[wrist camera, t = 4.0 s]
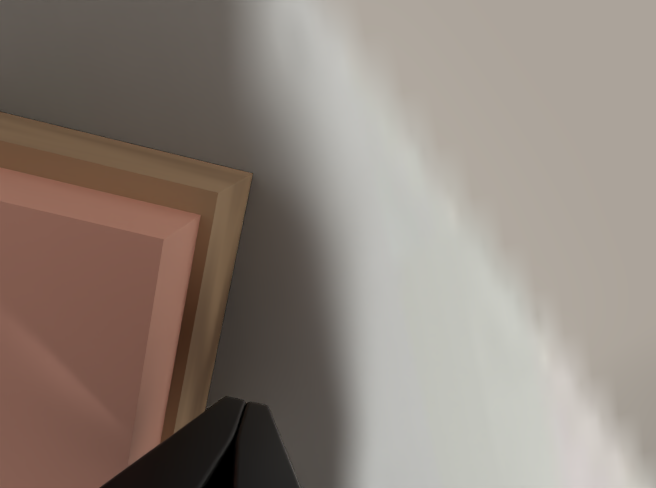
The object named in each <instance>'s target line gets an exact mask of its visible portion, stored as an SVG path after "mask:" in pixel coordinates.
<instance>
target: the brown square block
mask: <svg viewBox="0 0 656 488" xmlns="http://www.w3.org/2000/svg"><path fill="white" fill-rule="evenodd" d="M0 167H1V168H5V169H9V170H14V171H18V172H22V173H26V174H30V175H35V176H39V177H43V178H47V179H51V180H56V181H60V182H64V183H68V184H73V185H77V186H81V187H85V188H89V189H94V190H98V191H102V192H106V193H110V194H115V195H119V196H123V197H127V198H131V199H136V200H140V201H144V202H148V203H153V204H157V205H161V206H165V207H169V208H174V209H178V210H182V211H186V212H190V213H195V214H199V215H201V217H200V222H199V228H198V234H197V239H196V245H195V250H194V256H193V262H192V267H191V273H190V279H189V284H188V290H187V295H186V301H185V307H184V312H183V318H182V323H181V329H180V335H179V340H178V346H177V352H176V357H175V363H174V368H173V374H172V380H171V385H170V391H169V397H168V402H167V408H166V413H165V419H164V425H163V430H162V436H161V441H160V443H161V442H163V441H164V440H166V439H167V438H168V437H170V436H171V435H172V434H174V433H175V432H177V431H178V430H179V429H181V428H182V427H184V426H185V425H186V424H188V423H189V422H190V421H192V420H193V419H195V418H196V417H197V416H199V415H200V414H201V413H203V412H204V411H205V408H206V403H207V398H208V393H209V388H210V383H211V378H212V373H213V368H214V364H215V359H216V354H217V349H218V344H219V339H220V334H221V329H222V324H223V319H224V314H225V309H226V304H227V299H228V294H229V289H230V284H231V279H232V274H233V269H234V265H235V260H236V255H237V250H238V245H239V240H240V235H241V230H242V225H243V220H244V215H245V210H246V205H247V200H248V195H249V190H250V185H251V180H252V175H253V173H249V172H245V171H241V170H237V169H233V168H229V167H224V166H220V165H216V164H212V163H208V162H204V161H200V160H196V159H192V158H188V157H184V156H179V155H175V154H171V153H167V152H163V151H159V150H155V149H151V148H147V147H143V146H138V145H134V144H130V143H126V142H122V141H118V140H114V139H110V138H106V137H102V136H98V135H93V134H89V133H85V132H81V131H77V130H73V129H69V128H65V127H61V126H57V125H52V124H48V123H44V122H40V121H36V120H32V119H28V118H24V117H20V116H16V115H12V114H7V113H3V112H0Z"/></svg>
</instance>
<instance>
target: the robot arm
mask: <svg viewBox="0 0 656 488" xmlns="http://www.w3.org/2000/svg"><path fill="white" fill-rule="evenodd" d="M99 488H301V487H300V484H299V482H298V479H297V477H296V474H295V472H294V469H293V467H292V464H291V462H290V459H289V457H288V454H287V452H286V449H285V447H284V444H283V442H282V439H281V437H280V434H279V432H278V429H277V427H276V424H275V422H274V419H273V416H272V414H271V411H270V409H269V407H268V406H267V405H264V404H260V403H255V402H248V403H247V404H246V402H245V401H244V400H242V399H237V398H233V397H229V396H226V397H224V398H222V399H221V400H219V401H218V402H217V403H215V404H214V405H213V406H211V407H210V408H208V409H207V410H206V411H204V412H203V413H201V414H200V415H199V416H197V417H196V418H195V419H193V420H192V421H190V422H189V423H188V424H186V425H185V426H184V427H182V428H181V429H179V430H178V431H177V432H175V433H174V434H172V435H171V436H170V437H168V438H167V439H166V440H164V441H163V442H161V443H160V444H159V445H157V446H156V447H155V448H153V449H152V450H150V451H149V452H148V453H146V454H145V455H143V456H142V457H141V458H139V459H138V460H137V461H135V462H134V463H132V464H131V465H130V466H128V467H127V468H125V469H124V470H123V471H121V472H120V473H119V474H117V475H116V476H114V477H113V478H112V479H110V480H109V481H108V482H106V483H105V484H103V485H102V486H101V487H99Z"/></svg>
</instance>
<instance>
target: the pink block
mask: <svg viewBox="0 0 656 488" xmlns="http://www.w3.org/2000/svg"><path fill="white" fill-rule="evenodd" d="M200 217H201V215H199V214H195V213H190V212H186V211H182V210H178V209H174V208H169V207H165V206H161V205H157V204H153V203H148V202H144V201H140V200H136V199H131V198H127V197H123V196H119V195H115V194H110V193H106V192H102V191H98V190H94V189H89V188H85V187H81V186H77V185H73V184H68V183H64V182H60V181H56V180H51V179H47V178H43V177H39V176H35V175H30V174H26V173H22V172H18V171H14V170H9V169H5V168H1V167H0V488H99V487H101V486H102V485H103V484H105V483H106V482H108V481H109V480H110V479H112V478H113V477H114V476H116V475H117V474H119V473H120V472H121V471H123V470H124V469H125V468H127V467H128V466H130V465H131V464H132V463H134V462H135V461H137V460H138V459H139V458H141V457H142V456H143V455H145V454H146V453H148V452H149V451H150V450H152V449H153V448H155V447H156V446H157V445H159V444H160V441H161V436H162V430H163V425H164V419H165V413H166V408H167V402H168V397H169V391H170V385H171V380H172V374H173V368H174V363H175V357H176V352H177V346H178V340H179V335H180V329H181V323H182V318H183V312H184V307H185V301H186V295H187V290H188V284H189V279H190V273H191V267H192V262H193V256H194V250H195V245H196V239H197V234H198V228H199V222H200Z"/></svg>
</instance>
